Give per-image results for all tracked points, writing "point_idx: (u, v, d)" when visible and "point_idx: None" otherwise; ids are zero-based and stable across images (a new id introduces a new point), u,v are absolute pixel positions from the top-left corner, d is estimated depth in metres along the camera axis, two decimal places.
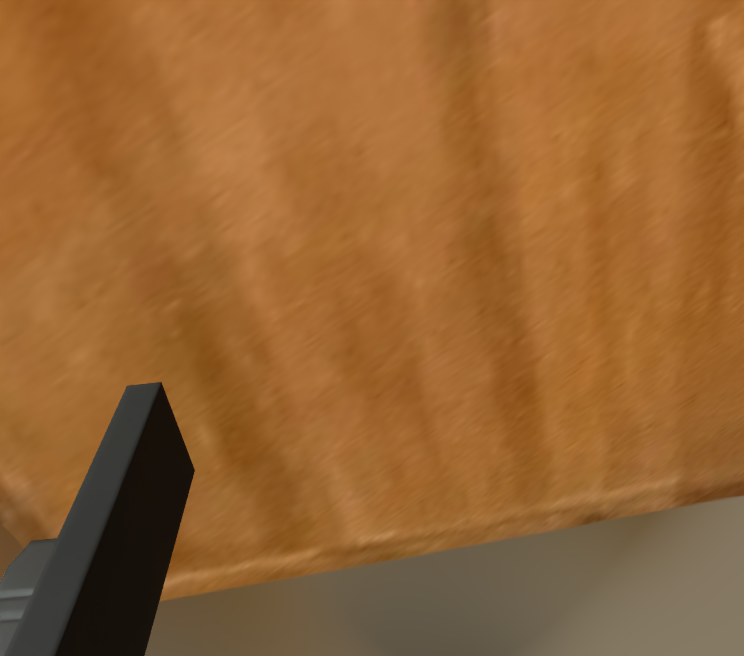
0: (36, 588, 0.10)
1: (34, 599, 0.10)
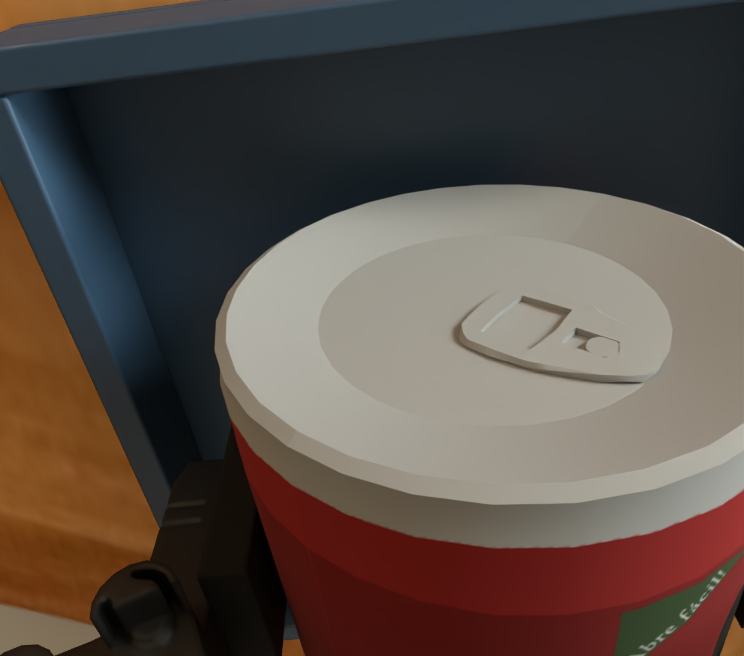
0: (217, 493, 0.11)
1: (218, 501, 0.11)
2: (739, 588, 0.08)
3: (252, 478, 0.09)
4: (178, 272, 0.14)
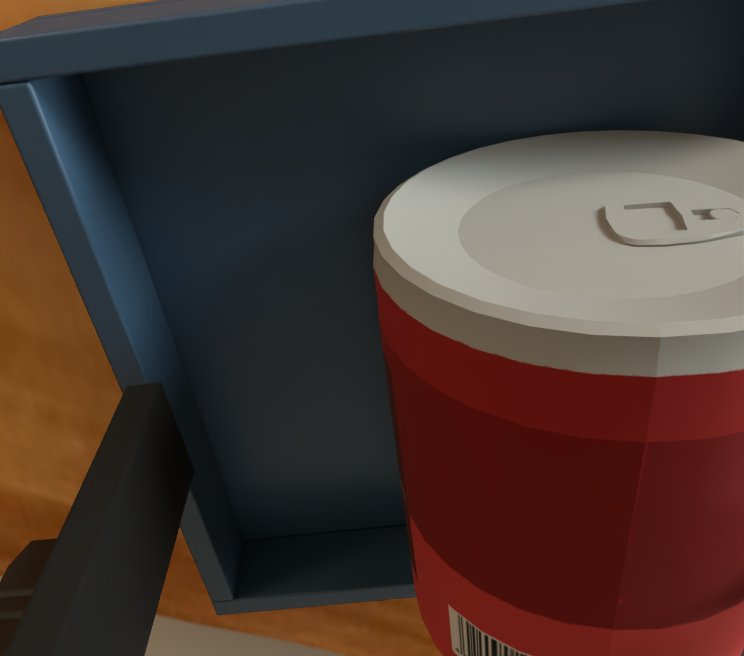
0: (36, 588, 0.10)
1: (34, 599, 0.10)
2: None
3: (543, 419, 0.09)
4: (185, 252, 0.15)
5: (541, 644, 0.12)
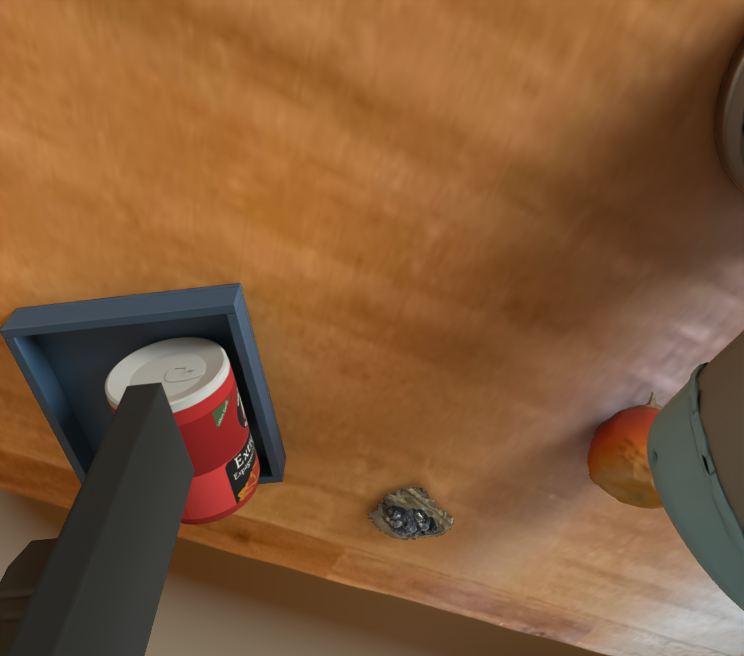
0: (36, 588, 0.10)
1: (34, 599, 0.10)
2: (235, 405, 0.43)
3: None
4: (67, 370, 0.46)
5: None
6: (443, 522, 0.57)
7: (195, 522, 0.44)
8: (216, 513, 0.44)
